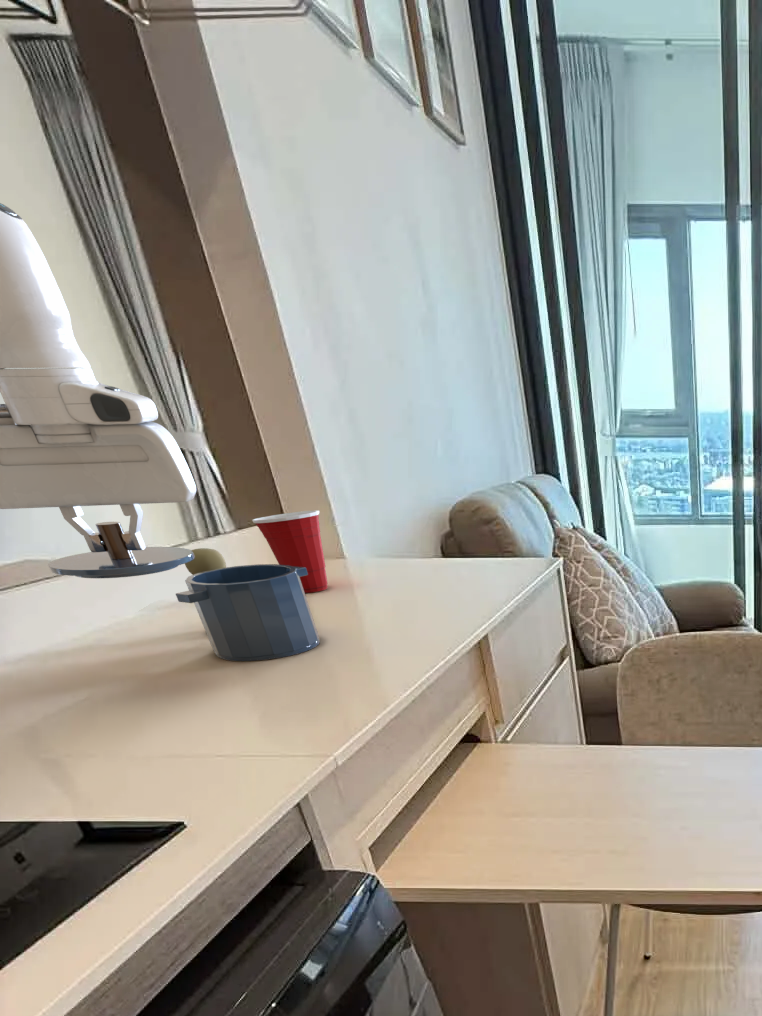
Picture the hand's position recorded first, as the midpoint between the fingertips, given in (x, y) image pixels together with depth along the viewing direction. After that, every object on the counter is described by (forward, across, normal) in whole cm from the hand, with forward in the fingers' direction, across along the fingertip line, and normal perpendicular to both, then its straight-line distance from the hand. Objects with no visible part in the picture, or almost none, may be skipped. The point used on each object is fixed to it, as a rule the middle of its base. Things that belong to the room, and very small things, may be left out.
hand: (119, 550), depth 98 cm
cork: (+15, +1, +28) cm, 32 cm away
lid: (+1, 0, 0) cm, 1 cm away
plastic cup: (+15, +8, +56) cm, 59 cm away
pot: (+15, +8, +16) cm, 23 cm away
